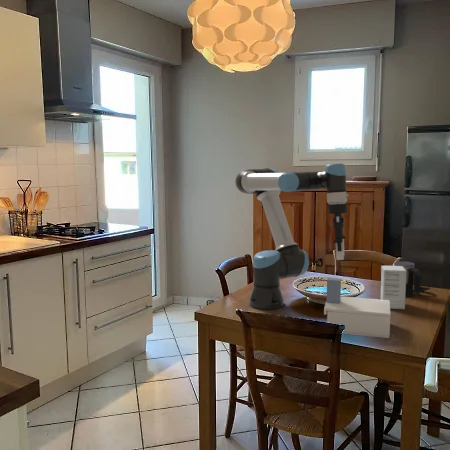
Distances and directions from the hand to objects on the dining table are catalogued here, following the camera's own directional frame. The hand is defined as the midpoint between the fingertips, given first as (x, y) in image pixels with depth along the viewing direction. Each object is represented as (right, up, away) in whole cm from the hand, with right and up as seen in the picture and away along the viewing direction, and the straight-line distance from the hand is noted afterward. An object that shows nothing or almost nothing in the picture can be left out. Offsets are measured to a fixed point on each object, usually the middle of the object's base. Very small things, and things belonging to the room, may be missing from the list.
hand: (340, 257), depth 185 cm
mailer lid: (+5, -20, -6) cm, 21 cm away
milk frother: (+42, -20, +37) cm, 60 cm away
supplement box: (+27, -23, +20) cm, 41 cm away
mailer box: (+5, -26, -5) cm, 27 cm away
